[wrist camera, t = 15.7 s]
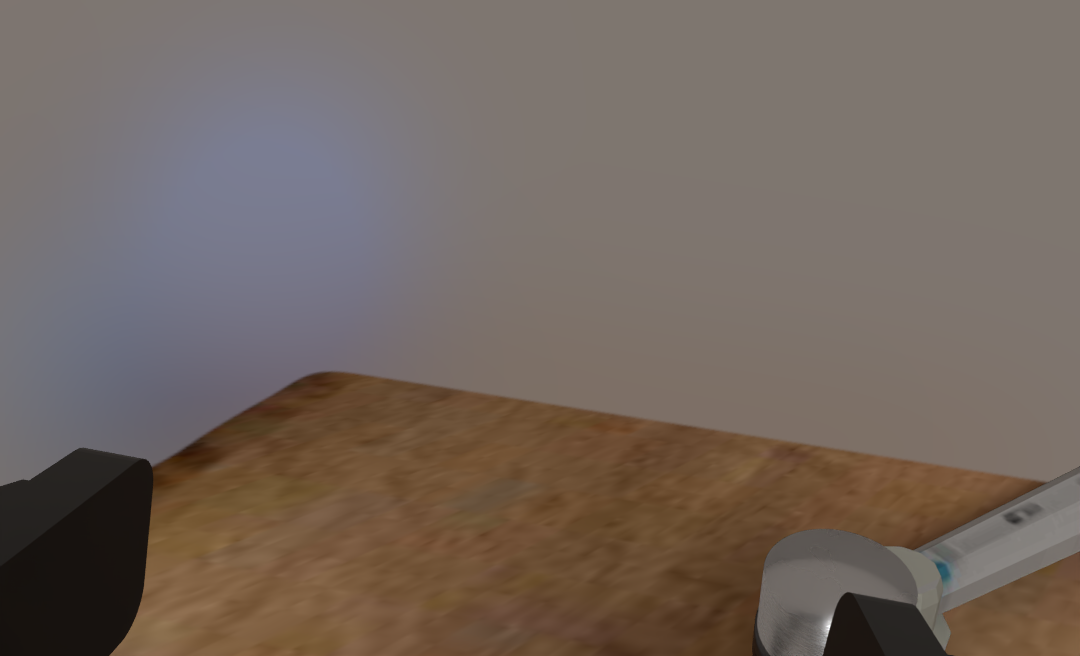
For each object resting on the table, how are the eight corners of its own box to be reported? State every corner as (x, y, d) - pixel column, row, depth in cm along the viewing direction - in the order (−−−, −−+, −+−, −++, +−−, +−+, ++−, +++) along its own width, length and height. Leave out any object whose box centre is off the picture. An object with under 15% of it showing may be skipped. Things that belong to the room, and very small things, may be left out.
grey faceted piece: (1216, 467, 52) (908, 610, 40) (1168, 567, 55) (867, 730, 42) (1120, 419, 56) (812, 534, 43) (1080, 514, 59) (780, 649, 46)
